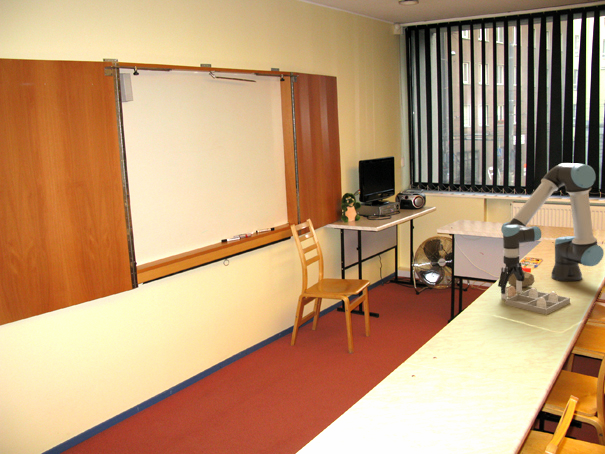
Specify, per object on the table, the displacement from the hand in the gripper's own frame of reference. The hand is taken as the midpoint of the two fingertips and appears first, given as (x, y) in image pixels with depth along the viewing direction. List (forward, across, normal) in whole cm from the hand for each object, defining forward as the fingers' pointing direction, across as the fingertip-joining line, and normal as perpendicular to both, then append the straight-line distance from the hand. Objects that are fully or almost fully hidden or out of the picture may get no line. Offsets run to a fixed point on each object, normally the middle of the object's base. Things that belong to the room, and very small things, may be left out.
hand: (511, 296), depth 268 cm
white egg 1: (0, -2, +10) cm, 11 cm away
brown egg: (0, 0, 0) cm, 0 cm away
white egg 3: (0, -2, +21) cm, 21 cm away
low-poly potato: (0, -16, -5) cm, 17 cm away
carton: (0, +3, +16) cm, 16 cm away
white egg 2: (0, +8, +21) cm, 22 cm away
